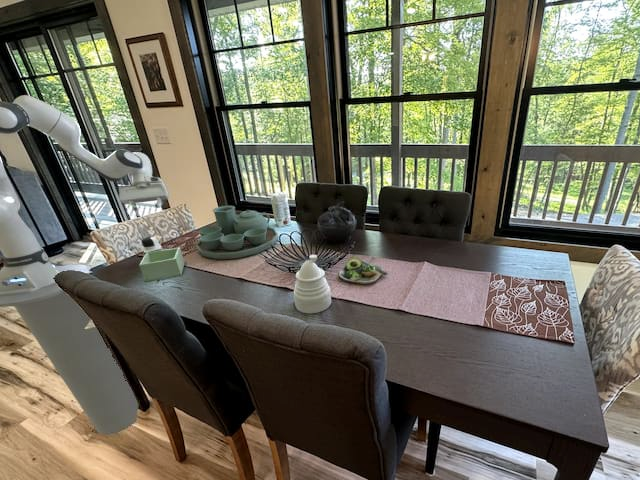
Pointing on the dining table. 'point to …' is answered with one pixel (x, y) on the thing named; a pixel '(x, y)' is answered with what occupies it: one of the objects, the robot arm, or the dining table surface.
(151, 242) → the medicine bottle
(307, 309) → the honey pot
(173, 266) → the bin
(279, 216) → the white ribbed cylinder
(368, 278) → the salad plate
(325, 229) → the coal bowl
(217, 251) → the tea set
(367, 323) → the dining table surface
